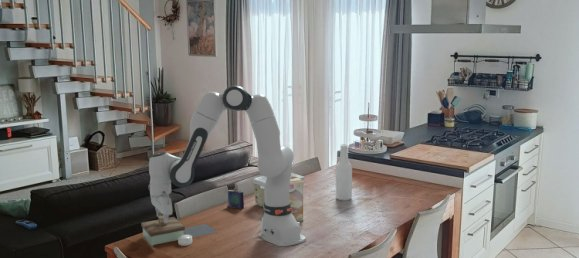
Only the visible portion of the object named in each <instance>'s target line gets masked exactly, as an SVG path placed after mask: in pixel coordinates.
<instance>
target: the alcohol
mask: <svg viewBox="0 0 579 258" xmlns="http://www.w3.org/2000/svg"><path fill="white" fill-rule="evenodd" d="M348 146H349V145H348V144H343V143H342V144H340V151H339V152H340V153H339V161H338V163H336V166H335V198H336V199H337V200H338V201H350V200H351V199H352V197H353V190H352V189H353V166H352V164H351V163H350V161H349V150H348V148H349V147H348Z"/></svg>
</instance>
